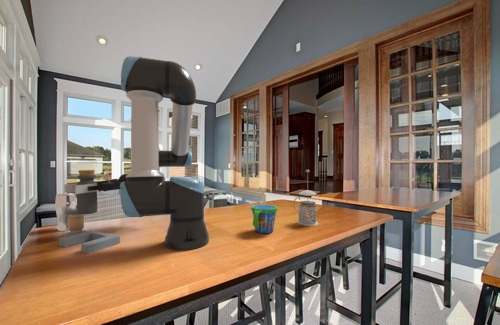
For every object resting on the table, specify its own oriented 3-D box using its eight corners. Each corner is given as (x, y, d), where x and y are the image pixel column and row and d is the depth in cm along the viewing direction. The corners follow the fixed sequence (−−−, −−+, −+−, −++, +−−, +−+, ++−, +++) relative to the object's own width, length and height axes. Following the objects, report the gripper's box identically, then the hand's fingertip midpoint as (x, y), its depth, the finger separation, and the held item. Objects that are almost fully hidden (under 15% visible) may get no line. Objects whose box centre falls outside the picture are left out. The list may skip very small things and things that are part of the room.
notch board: (119, 242, 83) (119, 235, 83) (88, 253, 73) (88, 245, 73) (90, 236, 90) (90, 230, 90) (58, 245, 80) (58, 238, 80)
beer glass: (51, 230, 98) (51, 195, 98) (69, 226, 104) (69, 192, 104) (62, 232, 95) (61, 195, 95) (79, 228, 101) (79, 193, 101)
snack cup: (263, 224, 106) (263, 202, 106) (284, 228, 100) (284, 205, 100) (242, 233, 93) (242, 208, 93) (264, 238, 87) (264, 211, 87)
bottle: (86, 215, 78) (86, 170, 78) (72, 214, 80) (71, 170, 79) (101, 211, 84) (100, 169, 84) (87, 210, 85) (87, 169, 85)
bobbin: (91, 234, 93) (90, 209, 93) (71, 239, 87) (71, 212, 87) (80, 231, 96) (80, 207, 96) (60, 236, 90) (60, 210, 90)
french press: (321, 225, 104) (321, 170, 104) (295, 225, 104) (295, 170, 104) (315, 220, 114) (315, 169, 114) (291, 220, 114) (291, 169, 114)
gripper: (148, 192, 94) (87, 202, 73) (117, 190, 102) (54, 198, 81) (148, 174, 94) (87, 178, 73) (117, 172, 102) (54, 176, 81)
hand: (70, 189), depth 77 cm, fingers closed on bottle, 6 cm apart
